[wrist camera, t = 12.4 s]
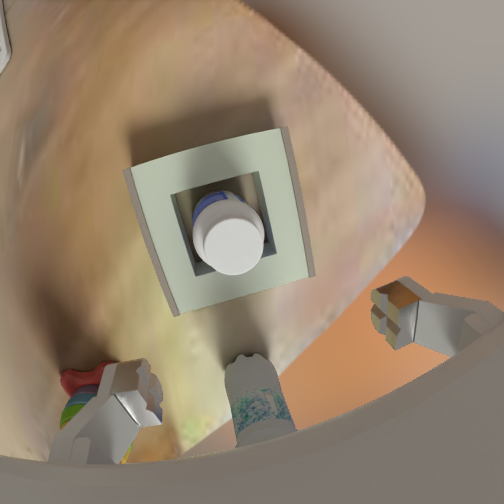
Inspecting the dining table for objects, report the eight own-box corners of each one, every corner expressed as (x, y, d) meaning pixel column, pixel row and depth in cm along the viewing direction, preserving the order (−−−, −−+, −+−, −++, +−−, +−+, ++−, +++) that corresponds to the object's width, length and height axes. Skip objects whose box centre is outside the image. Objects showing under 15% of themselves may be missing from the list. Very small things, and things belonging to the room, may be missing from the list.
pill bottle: (189, 239, 28) (186, 281, 19) (197, 184, 27) (197, 201, 18) (243, 246, 30) (264, 290, 21) (253, 193, 28) (281, 214, 19)
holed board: (132, 167, 25) (122, 170, 22) (276, 129, 26) (287, 126, 23) (175, 298, 30) (173, 316, 27) (302, 261, 31) (315, 275, 28)
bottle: (260, 389, 37) (302, 519, 18) (213, 380, 35) (235, 524, 16) (282, 352, 35) (344, 490, 16) (232, 341, 33) (270, 498, 15)
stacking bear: (118, 357, 31) (89, 483, 15) (154, 408, 35) (150, 521, 18) (56, 370, 31) (14, 474, 14) (94, 418, 34) (75, 515, 18)
